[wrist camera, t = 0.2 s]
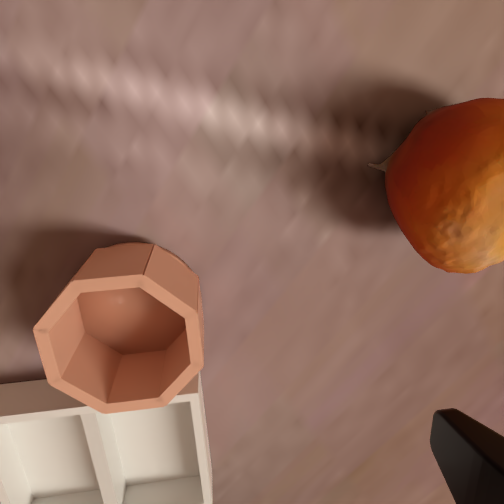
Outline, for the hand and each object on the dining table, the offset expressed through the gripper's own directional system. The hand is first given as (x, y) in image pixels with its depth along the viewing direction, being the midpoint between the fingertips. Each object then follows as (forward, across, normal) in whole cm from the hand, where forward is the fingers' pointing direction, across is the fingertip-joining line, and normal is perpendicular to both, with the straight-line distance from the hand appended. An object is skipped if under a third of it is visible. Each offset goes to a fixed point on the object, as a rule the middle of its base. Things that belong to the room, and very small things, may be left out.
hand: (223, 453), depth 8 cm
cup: (+14, +4, +4) cm, 16 cm away
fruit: (+15, -12, -2) cm, 19 cm away
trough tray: (+14, +8, +13) cm, 21 cm away
